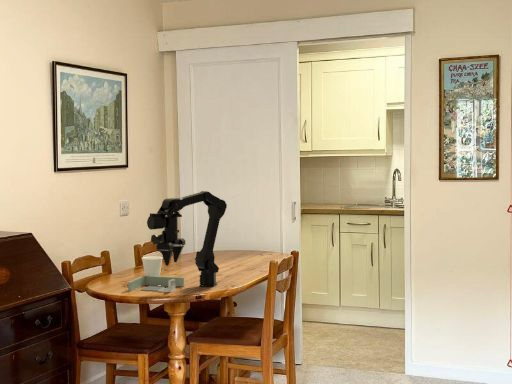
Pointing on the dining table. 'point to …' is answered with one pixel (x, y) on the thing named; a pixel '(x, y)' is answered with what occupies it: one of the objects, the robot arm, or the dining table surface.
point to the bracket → (169, 287)
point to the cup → (152, 265)
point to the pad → (153, 288)
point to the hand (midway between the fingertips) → (171, 263)
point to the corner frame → (154, 281)
